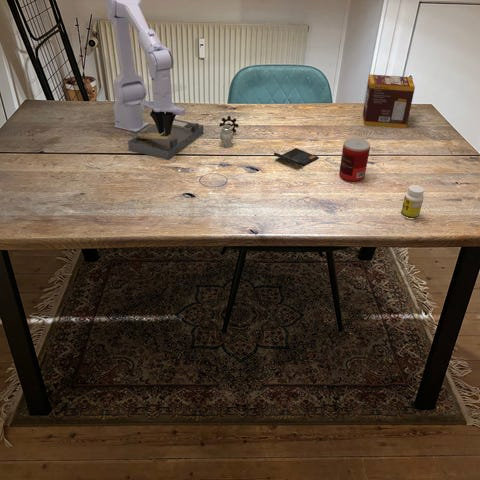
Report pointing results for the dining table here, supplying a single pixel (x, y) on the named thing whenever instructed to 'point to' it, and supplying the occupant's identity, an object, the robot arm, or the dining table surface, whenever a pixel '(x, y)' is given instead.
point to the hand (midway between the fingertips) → (164, 133)
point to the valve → (227, 132)
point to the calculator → (298, 157)
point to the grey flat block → (166, 141)
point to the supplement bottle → (413, 201)
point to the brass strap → (154, 136)
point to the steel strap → (182, 125)
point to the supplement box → (388, 101)
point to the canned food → (354, 159)
